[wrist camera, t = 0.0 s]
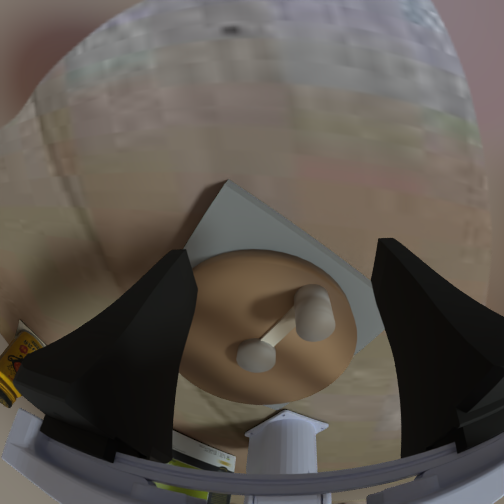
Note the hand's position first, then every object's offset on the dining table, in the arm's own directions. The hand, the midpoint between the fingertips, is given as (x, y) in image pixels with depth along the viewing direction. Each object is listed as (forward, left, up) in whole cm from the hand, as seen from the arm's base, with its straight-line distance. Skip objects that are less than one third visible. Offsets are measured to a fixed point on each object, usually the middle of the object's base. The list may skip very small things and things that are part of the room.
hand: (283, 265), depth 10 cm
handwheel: (-10, -5, -9) cm, 14 cm away
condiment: (-39, +18, -11) cm, 44 cm away
